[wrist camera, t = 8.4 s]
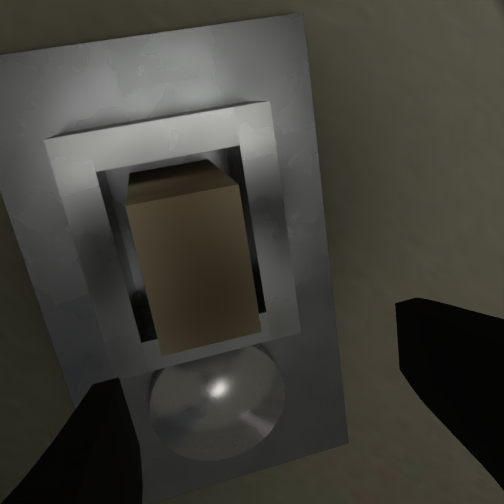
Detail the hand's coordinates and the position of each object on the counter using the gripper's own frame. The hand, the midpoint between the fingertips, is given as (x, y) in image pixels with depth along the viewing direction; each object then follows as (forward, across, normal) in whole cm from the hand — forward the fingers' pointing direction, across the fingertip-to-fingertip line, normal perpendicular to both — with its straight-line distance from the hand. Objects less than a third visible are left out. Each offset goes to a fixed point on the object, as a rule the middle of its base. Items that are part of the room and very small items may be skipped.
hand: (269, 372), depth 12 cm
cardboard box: (+8, +1, -2) cm, 9 cm away
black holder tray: (+9, +1, +1) cm, 9 cm away
